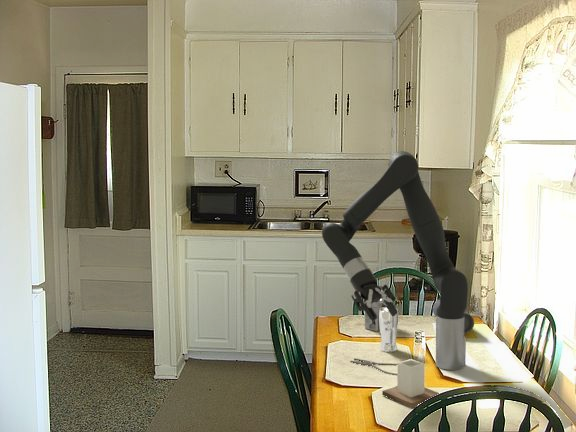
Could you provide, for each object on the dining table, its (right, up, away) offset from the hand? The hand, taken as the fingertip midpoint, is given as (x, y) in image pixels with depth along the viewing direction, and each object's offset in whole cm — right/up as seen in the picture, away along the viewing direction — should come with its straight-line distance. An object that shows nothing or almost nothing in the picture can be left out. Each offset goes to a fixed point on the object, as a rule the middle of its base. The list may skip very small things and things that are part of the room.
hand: (385, 317), depth 214 cm
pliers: (0, -20, +19) cm, 28 cm away
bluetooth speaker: (+35, -14, +61) cm, 72 cm away
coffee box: (+6, -14, +65) cm, 67 cm away
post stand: (+7, -23, -7) cm, 25 cm away
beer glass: (+6, -17, +37) cm, 42 cm away
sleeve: (+7, -21, -7) cm, 24 cm away
